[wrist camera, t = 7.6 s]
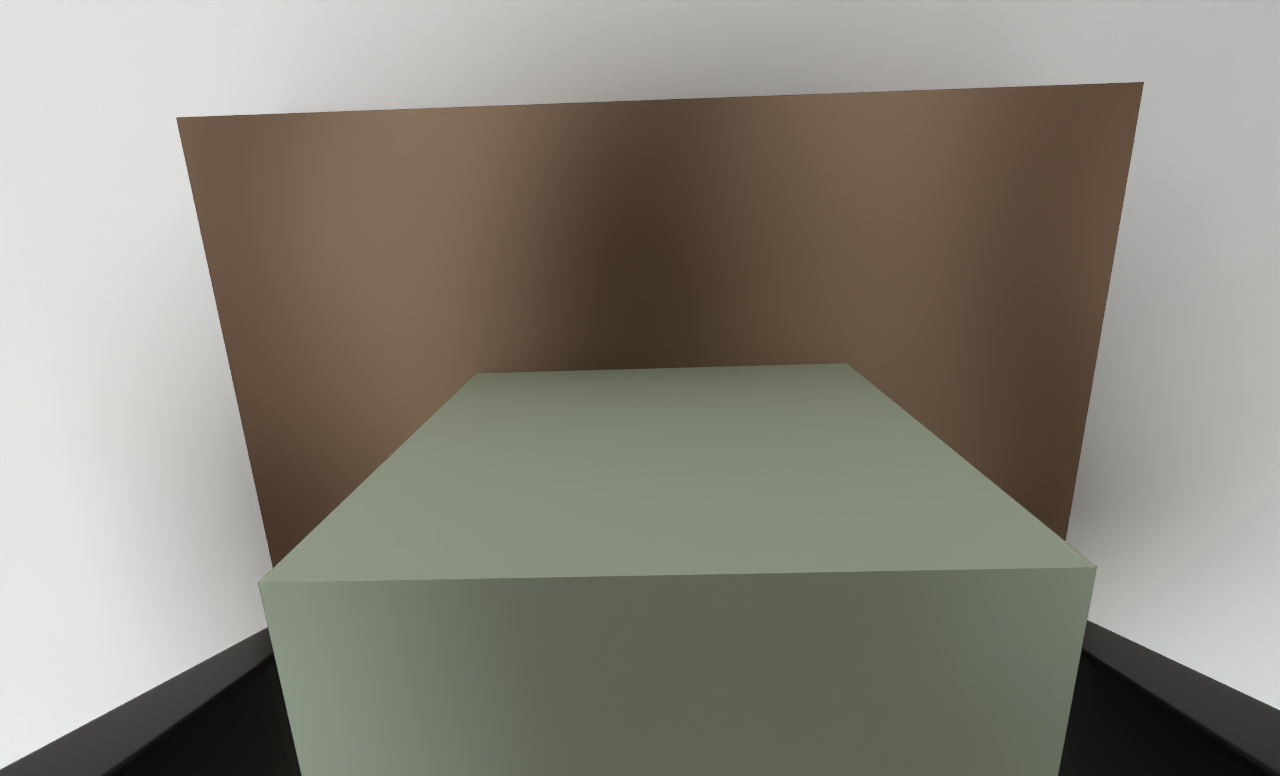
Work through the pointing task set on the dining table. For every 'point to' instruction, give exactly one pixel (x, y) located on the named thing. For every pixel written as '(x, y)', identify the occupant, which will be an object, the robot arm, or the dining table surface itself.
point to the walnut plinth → (664, 262)
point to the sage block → (678, 590)
